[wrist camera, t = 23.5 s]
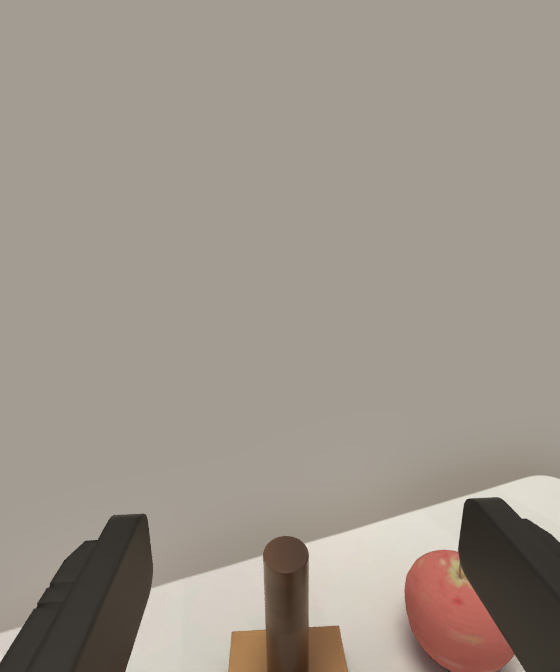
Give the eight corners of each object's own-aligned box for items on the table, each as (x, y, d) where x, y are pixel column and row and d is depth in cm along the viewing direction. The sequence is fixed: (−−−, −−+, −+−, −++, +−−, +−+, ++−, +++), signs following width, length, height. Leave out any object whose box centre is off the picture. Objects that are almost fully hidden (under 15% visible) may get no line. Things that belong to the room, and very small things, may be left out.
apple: (388, 606, 31) (393, 528, 29) (469, 599, 32) (479, 522, 30) (428, 713, 24) (438, 618, 22) (533, 702, 24) (551, 609, 22)
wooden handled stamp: (226, 749, 22) (215, 594, 20) (233, 660, 27) (225, 526, 24) (353, 740, 23) (360, 586, 20) (338, 653, 27) (341, 520, 25)
